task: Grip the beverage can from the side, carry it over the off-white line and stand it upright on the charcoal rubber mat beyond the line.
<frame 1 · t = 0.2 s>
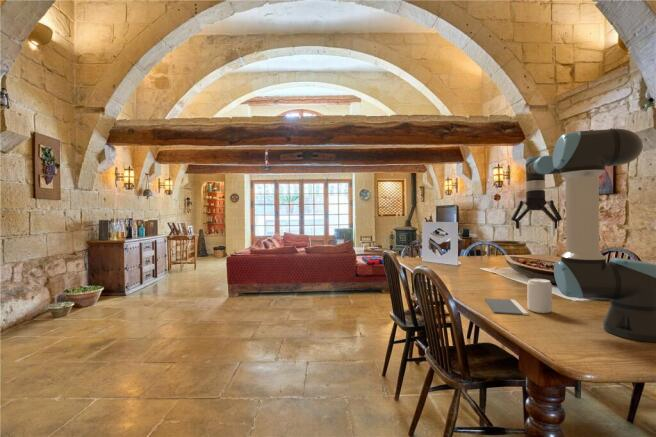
hand: (536, 236, 154), 27 cm above the table, tool pointing down, fingers open, 13 cm apart
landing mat: (505, 306, 136), on the table
pie: (590, 294, 154), on the table
beverage can: (539, 311, 130), on the table
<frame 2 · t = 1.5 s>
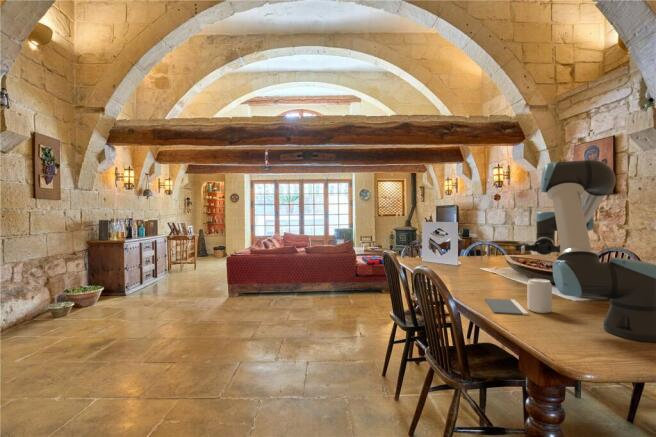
hand: (541, 251, 137), 22 cm above the table, tool horizontal, fingers open, 13 cm apart
nothing on the table moved.
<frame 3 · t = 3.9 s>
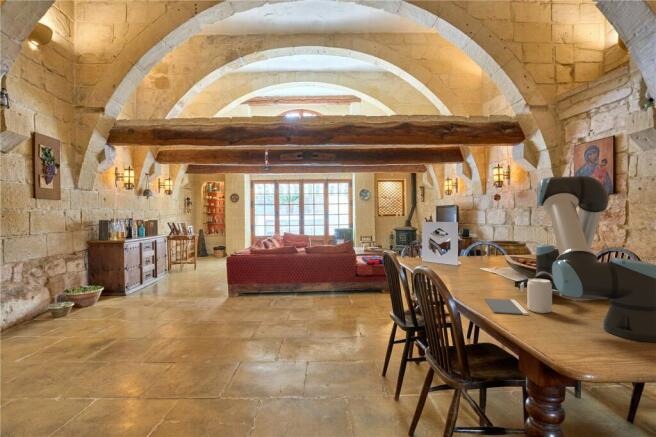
hand: (540, 290, 135), 7 cm above the table, tool horizontal, fingers open, 13 cm apart
nothing on the table moved.
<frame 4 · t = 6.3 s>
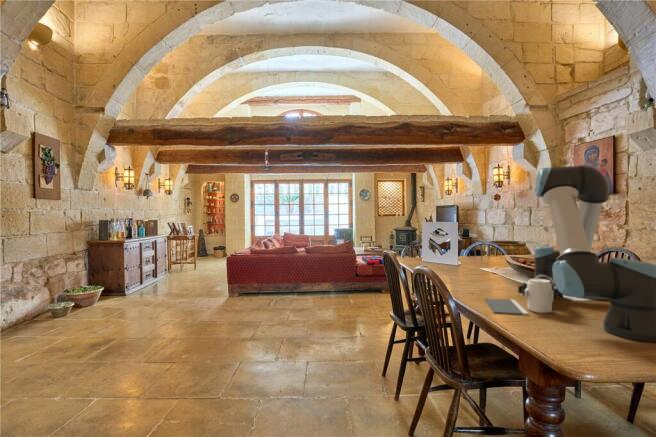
hand: (538, 296, 126), 7 cm above the table, tool horizontal, fingers closed on beverage can, 8 cm apart
beverage can: (539, 311, 130), on the table, touching gripper
everything else where it was.
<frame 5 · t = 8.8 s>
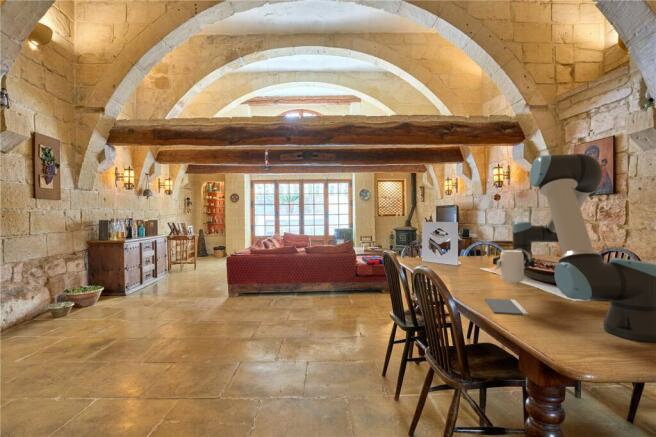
hand: (509, 265, 129), 18 cm above the table, tool horizontal, fingers closed on beverage can, 8 cm apart
beverage can: (512, 281, 133), point 11 cm above the table, touching gripper
everything else where it was.
when the fingers open (9 cm above the table, at t = 11.3 s): beverage can drops 1 cm, resting on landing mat.
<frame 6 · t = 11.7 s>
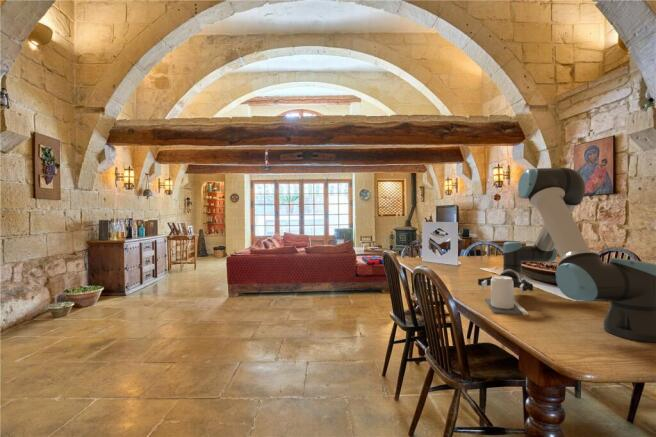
hand: (501, 288, 130), 9 cm above the table, tool horizontal, fingers open, 13 cm apart
beverage can: (502, 307, 133), resting on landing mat
everything else where it was.
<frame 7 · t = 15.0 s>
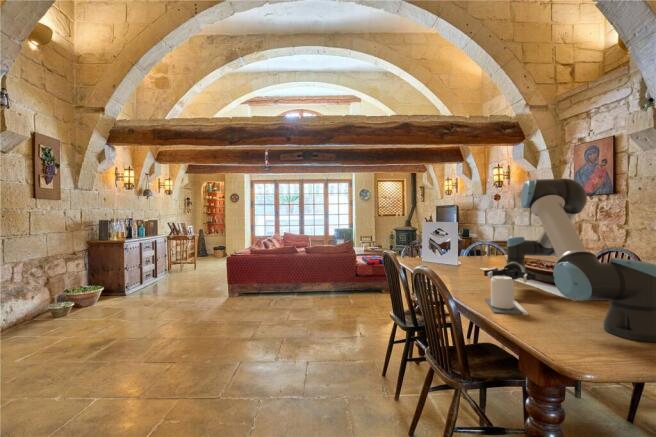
hand: (506, 277, 141), 11 cm above the table, tool horizontal, fingers open, 13 cm apart
nothing on the table moved.
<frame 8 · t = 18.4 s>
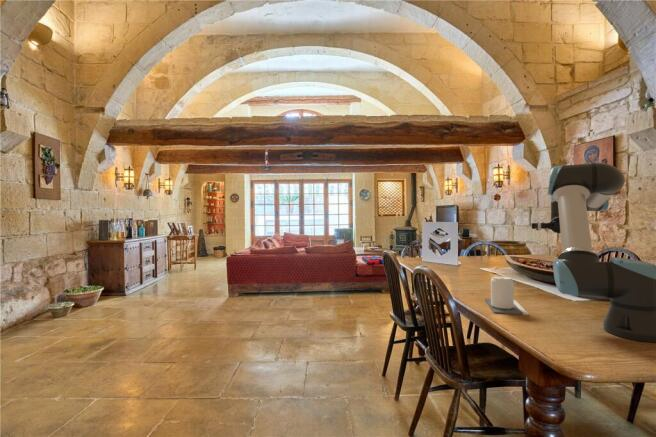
hand: (557, 227, 140), 32 cm above the table, tool horizontal, fingers open, 13 cm apart
nothing on the table moved.
at the end: beverage can inside the target area (2.9 cm from its centre), resting on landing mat; beverage can tilted 0°; the gripper is holding nothing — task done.
